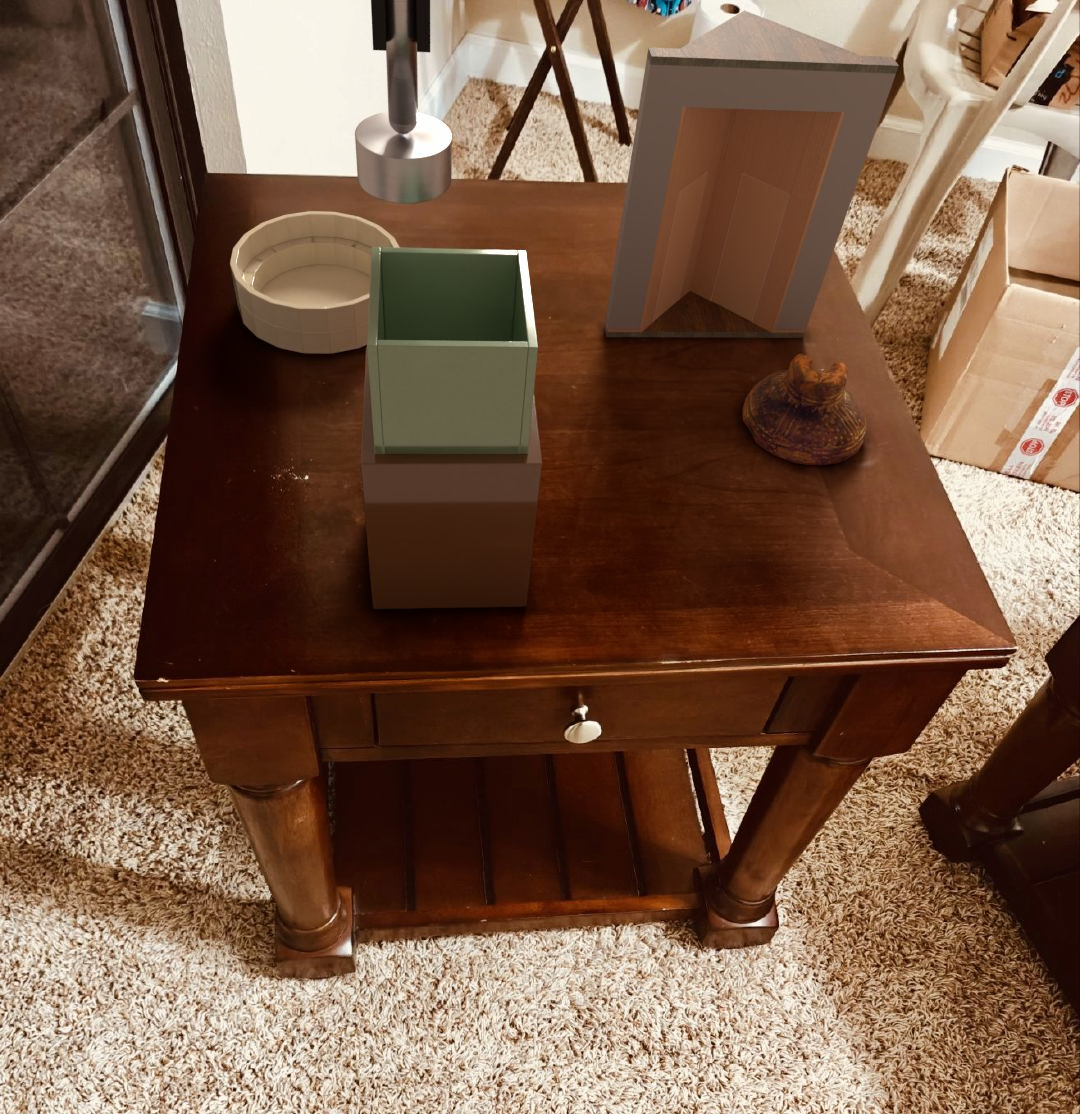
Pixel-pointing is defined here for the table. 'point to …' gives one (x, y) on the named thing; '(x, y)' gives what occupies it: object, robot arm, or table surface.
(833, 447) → the bell
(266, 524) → the table surface
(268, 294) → the mixing bowl
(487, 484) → the utensil holder
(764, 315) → the cabinet
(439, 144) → the rod with disc base
